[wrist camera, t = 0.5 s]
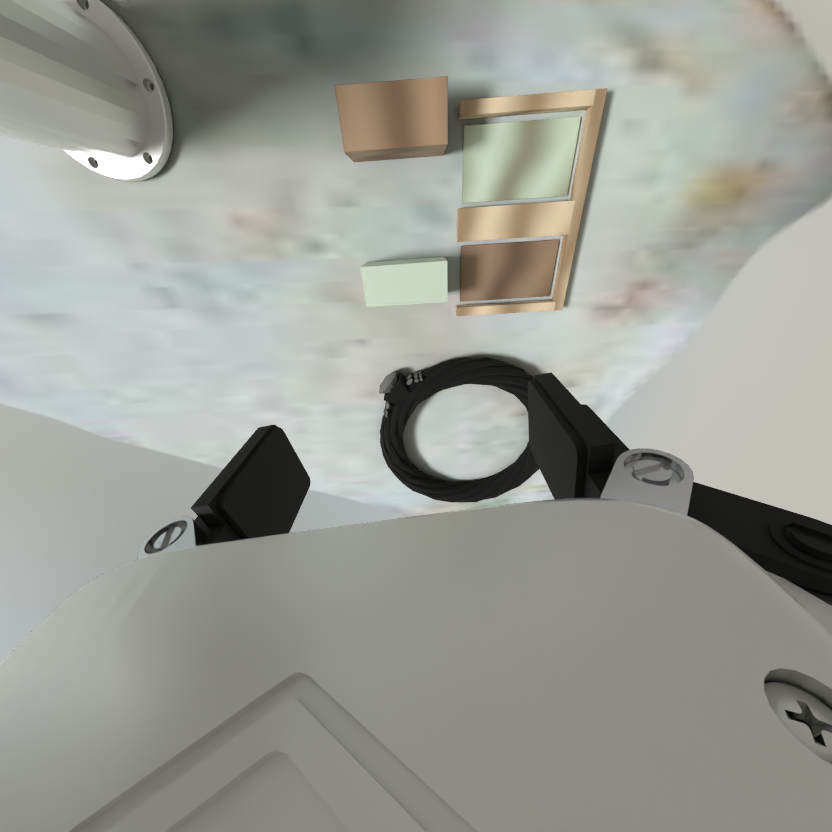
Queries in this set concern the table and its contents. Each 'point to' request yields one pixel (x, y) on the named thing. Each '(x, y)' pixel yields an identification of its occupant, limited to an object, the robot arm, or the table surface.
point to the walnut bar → (394, 118)
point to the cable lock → (424, 384)
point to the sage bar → (405, 281)
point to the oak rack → (523, 197)
